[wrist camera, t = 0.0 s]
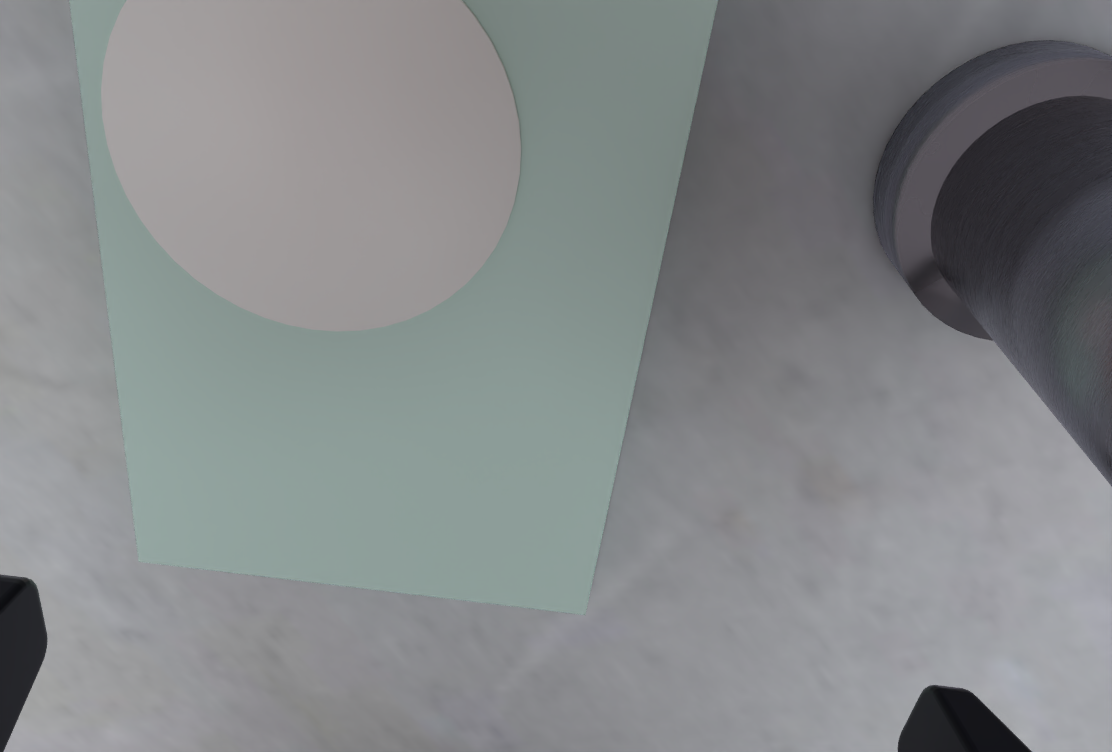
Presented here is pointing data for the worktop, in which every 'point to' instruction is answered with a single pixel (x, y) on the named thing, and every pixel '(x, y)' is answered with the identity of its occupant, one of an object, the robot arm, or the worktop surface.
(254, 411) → the sage board
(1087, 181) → the grey translucent cylinder
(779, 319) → the worktop surface
